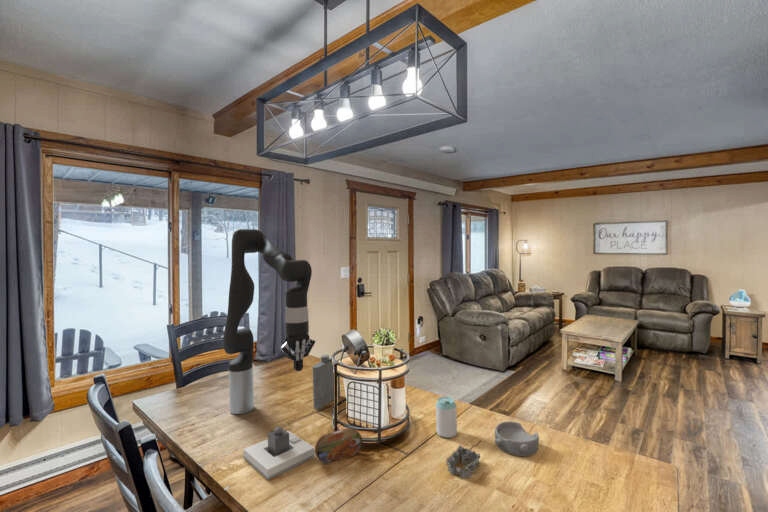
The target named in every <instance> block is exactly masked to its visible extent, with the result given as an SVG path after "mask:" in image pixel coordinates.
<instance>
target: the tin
mask: <svg viewBox="0 0 768 512" xmlns="http://www.w3.org/2000/svg"><path fill="white" fill-rule="evenodd" d="M362 443H363V439H362V435H361V433H360V432H359V431H358V430H356V429H354V428H352V427H347V428H342V429H340V430H336V431H333V432H332V431H331V432H328V433H326V434H323V435H322V436H320V437H319V438H318V440H317V442H316V443H315V446H314V450H315V457H316V458H317V459H318V461H319V463H321V464H324V465H330V464H332V463H336V462H339V461H342V460H345V459H348V458H349V459H350V458H352V457H354V456H355V455H356V454H357V453H358V452H359V451H360V450H361V447H362Z"/></svg>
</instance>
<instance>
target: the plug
mask: <svg viewBox="0 0 768 512" xmlns="http://www.w3.org/2000/svg"><path fill="white" fill-rule="evenodd" d="M286 431H287V430H285V429H284V428H283V426H276V427H274V429H273V431H271V432H268V433H267V439H268V453H270V454H271V455H272V456H273V457H276V456H278V455H280V454H282V453H284V452H287V451H289V450H290V448H289V433H288V432H286Z"/></svg>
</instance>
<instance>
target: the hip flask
mask: <svg viewBox="0 0 768 512" xmlns="http://www.w3.org/2000/svg"><path fill="white" fill-rule="evenodd" d="M320 359H321V360H320V361H319V362H317V363H316V364H313V365H312V391H313V392H312V396H313V397H312V398H313V410H314V409H316V410H315V411H318V410H317V409H320V410H321V409H323V408H324V407H325V406H327V405H328V404H330V403H332V402H333V401H335V400H334V373H333V365H332V357H330V355H329V354H322V355H321V356H320ZM339 396H340V397H341V377H339V376H338V399H340V398H339ZM332 400H333V401H332ZM331 401H332V402H331ZM329 402H330V403H329ZM327 403H328V404H327ZM326 404H327V405H326ZM324 405H325V406H324ZM323 406H324V407H323ZM322 407H323V408H322Z"/></svg>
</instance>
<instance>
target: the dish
mask: <svg viewBox="0 0 768 512" xmlns="http://www.w3.org/2000/svg"><path fill="white" fill-rule="evenodd" d="M539 443H540V438H539V433H538V432H534V434H532V435H531V434H529V433H528V432H527V431H526V430H525V428H524V427H523V426H522V424H521V422H516V421H513V420H512V421H503V422H500V423H498V424H497V425H496V427H495V429H494V444H495V445H496V446H497V447H498V448H499V449H500V450H501V451H502V452H505V453H507V454H509V455H512V456H517V457H529V456H532V455H534V454H536V453H537V451H538V449H539V445H540V444H539Z"/></svg>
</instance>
